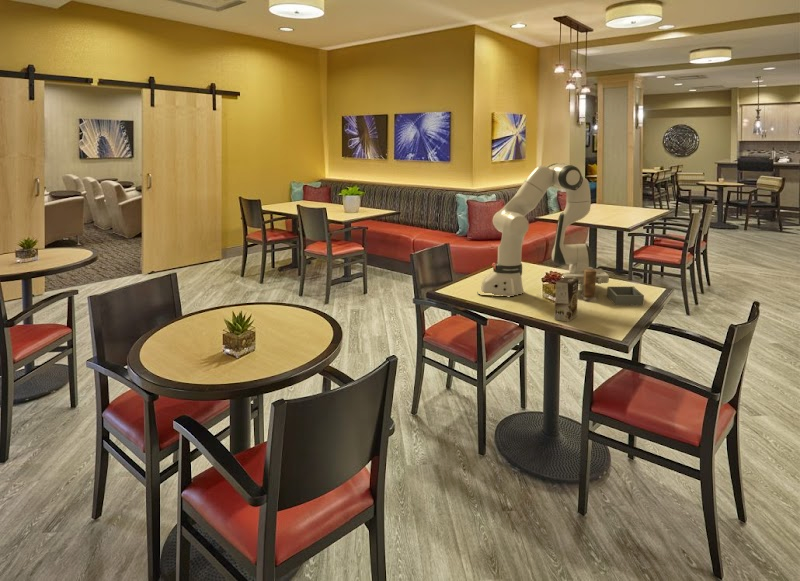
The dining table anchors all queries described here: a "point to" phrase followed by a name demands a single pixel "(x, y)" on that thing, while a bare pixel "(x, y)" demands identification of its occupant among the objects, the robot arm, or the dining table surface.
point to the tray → (625, 295)
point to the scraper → (589, 285)
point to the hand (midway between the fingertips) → (588, 282)
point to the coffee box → (566, 299)
